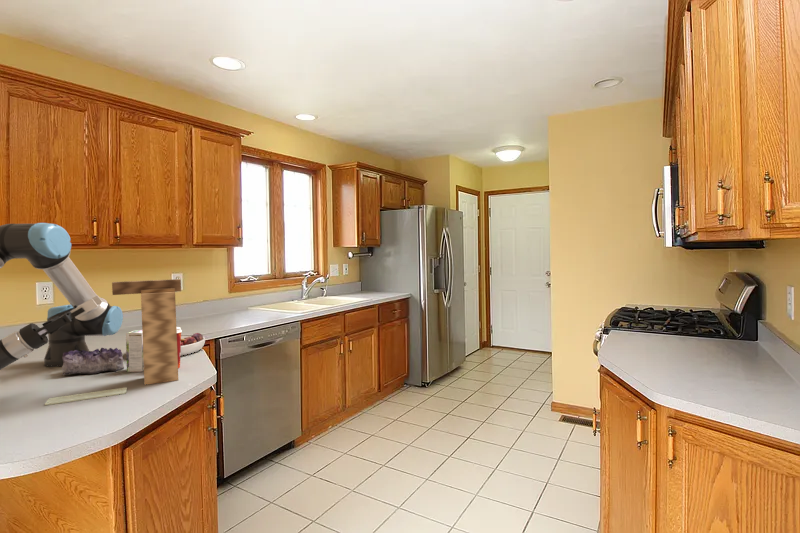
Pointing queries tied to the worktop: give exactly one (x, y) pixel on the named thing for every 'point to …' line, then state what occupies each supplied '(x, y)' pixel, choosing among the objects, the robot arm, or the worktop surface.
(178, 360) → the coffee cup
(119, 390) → the sage mat
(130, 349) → the syrup box
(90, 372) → the geode
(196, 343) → the bowl
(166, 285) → the walnut bar
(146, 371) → the oak pedestal
